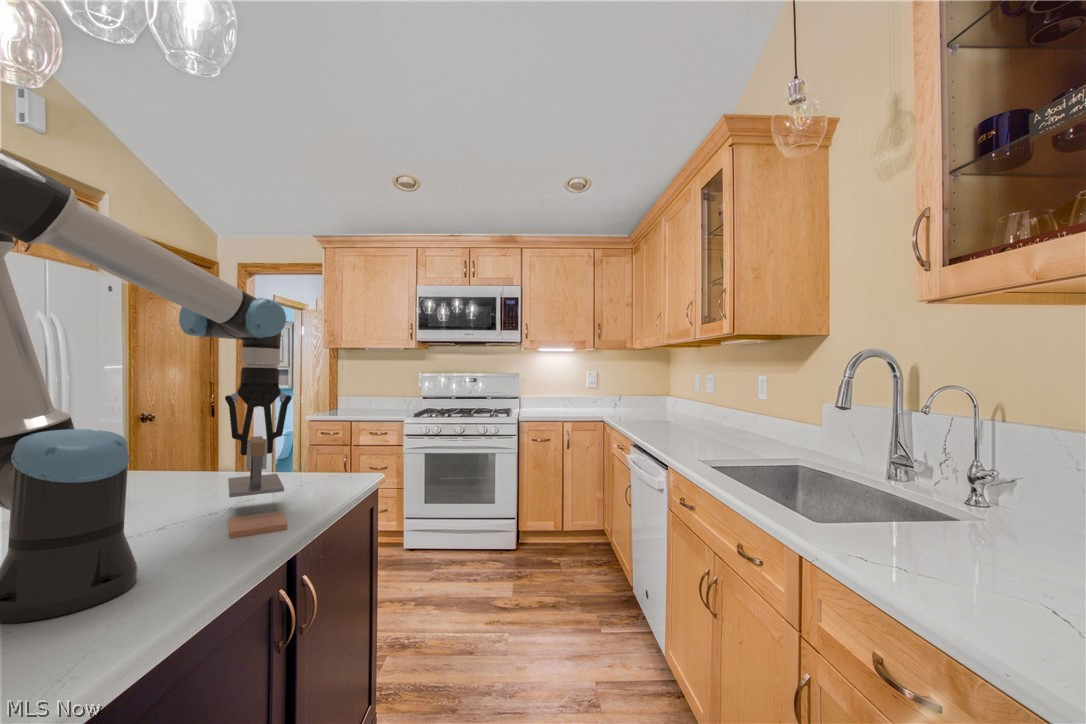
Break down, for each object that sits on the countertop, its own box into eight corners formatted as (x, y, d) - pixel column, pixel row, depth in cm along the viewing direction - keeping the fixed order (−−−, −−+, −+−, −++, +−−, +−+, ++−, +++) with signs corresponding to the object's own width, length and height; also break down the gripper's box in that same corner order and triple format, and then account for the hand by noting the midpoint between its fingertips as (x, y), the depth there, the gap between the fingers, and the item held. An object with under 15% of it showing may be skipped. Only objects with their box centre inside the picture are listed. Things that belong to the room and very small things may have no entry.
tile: (281, 518, 102) (287, 531, 94) (227, 526, 96) (228, 541, 88) (281, 510, 102) (287, 523, 94) (228, 518, 96) (229, 532, 88)
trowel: (284, 491, 100) (286, 442, 100) (229, 497, 94) (231, 445, 94) (276, 476, 113) (278, 433, 113) (228, 481, 107) (230, 436, 107)
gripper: (296, 367, 112) (292, 462, 111) (219, 365, 102) (214, 468, 102) (300, 368, 105) (296, 468, 105) (219, 365, 96) (214, 475, 96)
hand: (255, 468), depth 103 cm, fingers closed on trowel, 2 cm apart
